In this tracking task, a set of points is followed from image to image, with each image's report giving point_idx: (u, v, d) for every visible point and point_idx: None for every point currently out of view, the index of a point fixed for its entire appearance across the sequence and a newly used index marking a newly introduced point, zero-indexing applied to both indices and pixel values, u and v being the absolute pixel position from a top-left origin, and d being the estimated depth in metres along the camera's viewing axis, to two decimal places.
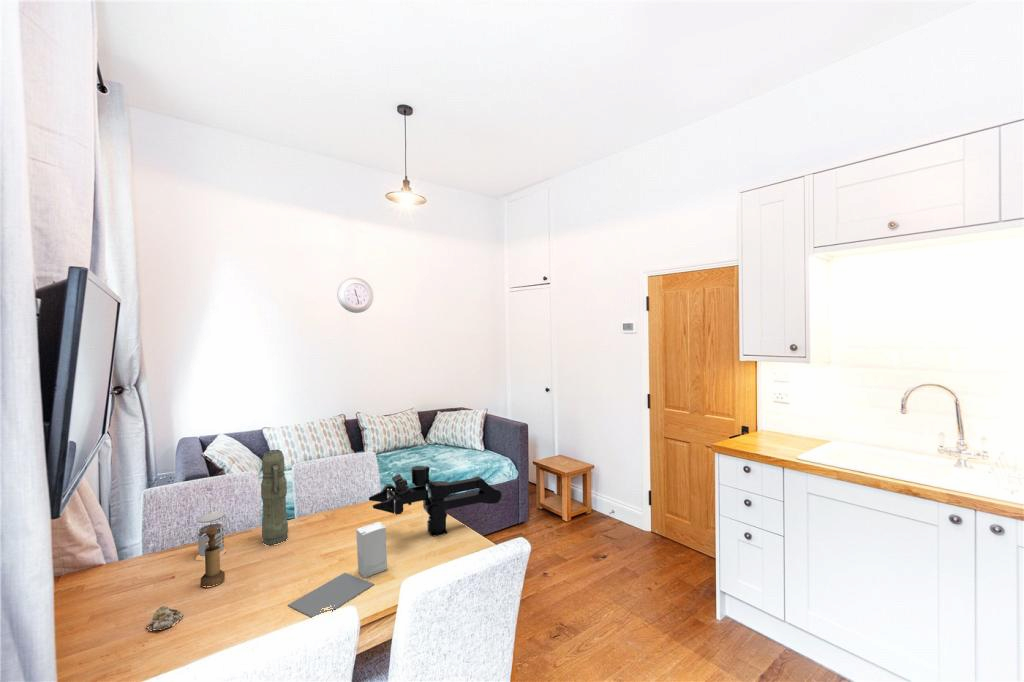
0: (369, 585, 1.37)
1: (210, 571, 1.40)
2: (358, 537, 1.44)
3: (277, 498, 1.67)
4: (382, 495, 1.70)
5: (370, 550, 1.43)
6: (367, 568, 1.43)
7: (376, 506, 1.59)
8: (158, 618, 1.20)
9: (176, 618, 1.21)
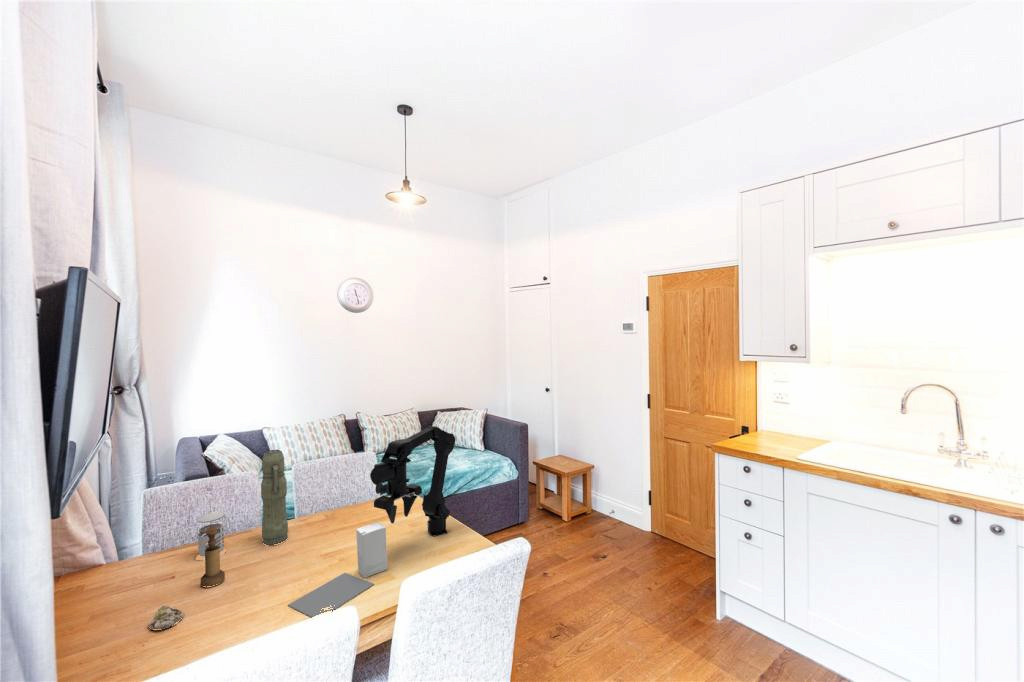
0: (369, 585, 1.37)
1: (210, 571, 1.40)
2: (358, 537, 1.44)
3: (277, 498, 1.67)
4: (406, 502, 1.62)
5: (370, 550, 1.43)
6: (367, 568, 1.43)
7: (391, 520, 1.55)
8: (159, 618, 1.20)
9: (177, 618, 1.21)
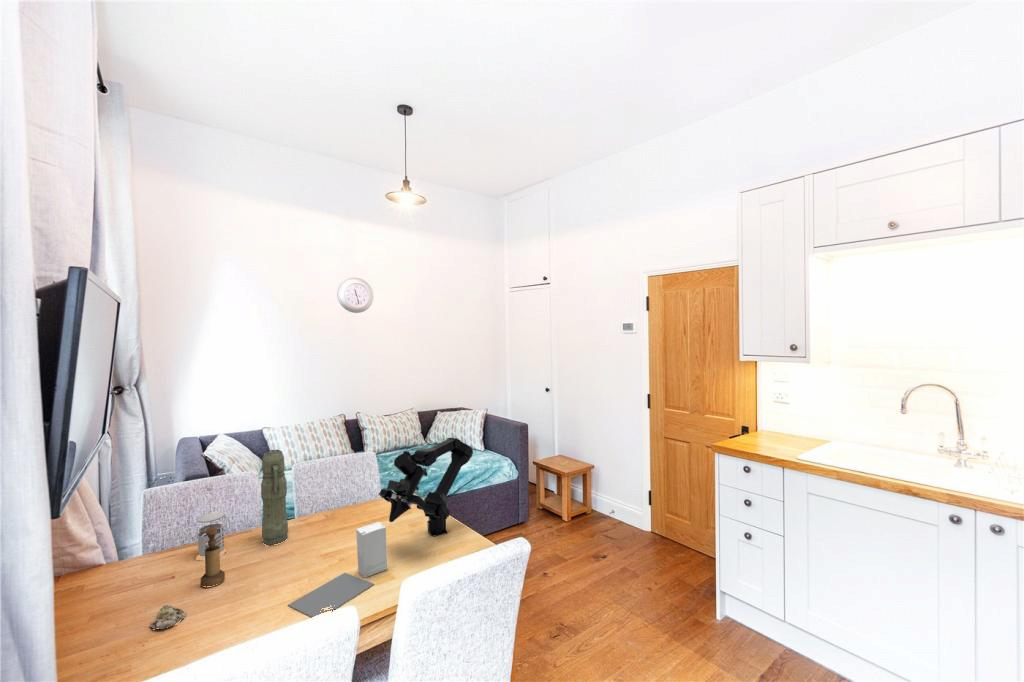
0: (369, 585, 1.37)
1: (210, 571, 1.40)
2: (358, 537, 1.44)
3: (277, 498, 1.67)
4: (395, 507, 1.57)
5: (370, 550, 1.43)
6: (367, 568, 1.43)
7: (393, 518, 1.54)
8: (161, 617, 1.20)
9: (179, 617, 1.22)
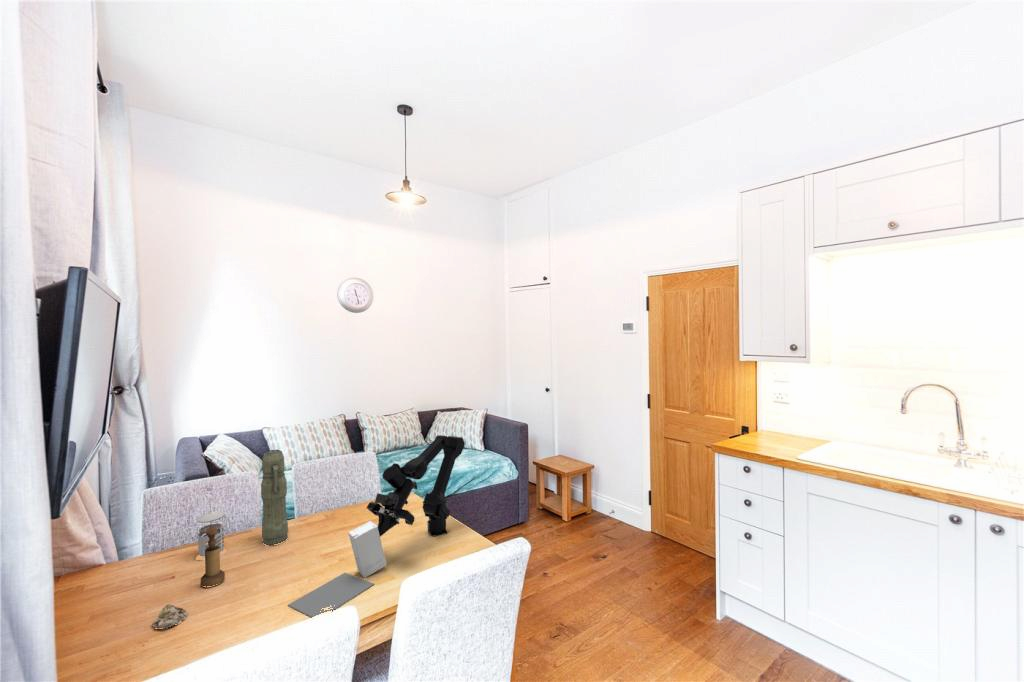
0: (369, 585, 1.37)
1: (210, 571, 1.40)
2: (351, 540, 1.43)
3: (277, 498, 1.67)
4: (383, 522, 1.52)
5: (365, 551, 1.42)
6: (365, 568, 1.42)
7: (380, 533, 1.49)
8: (163, 616, 1.21)
9: (181, 617, 1.22)
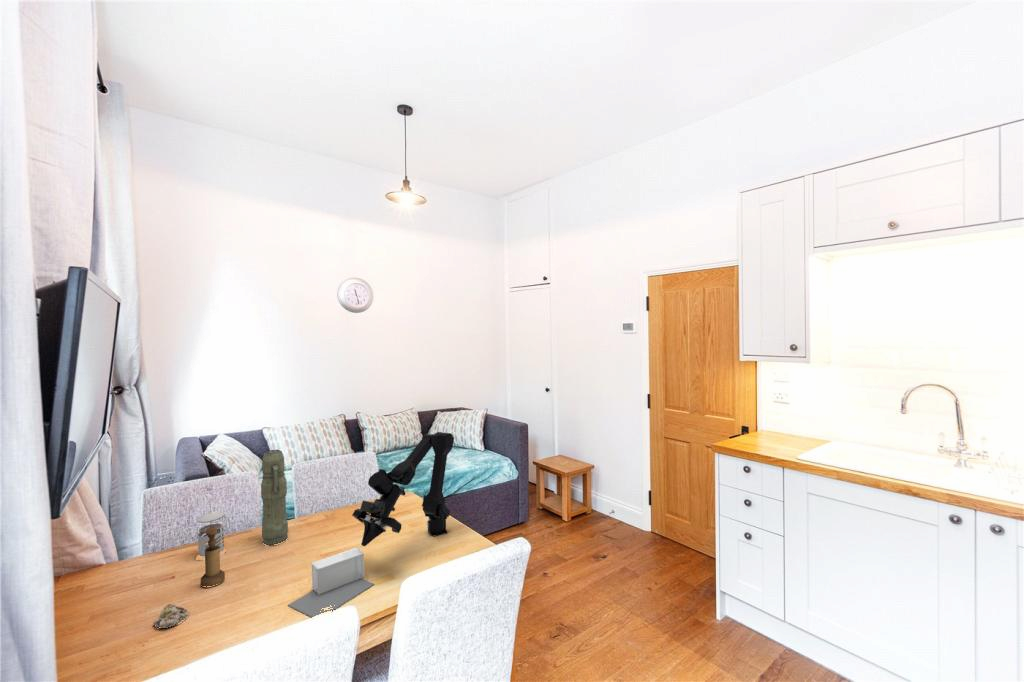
0: (369, 585, 1.37)
1: (210, 571, 1.40)
2: None
3: (277, 498, 1.67)
4: (369, 530, 1.46)
5: (338, 580, 1.36)
6: (355, 577, 1.40)
7: (366, 542, 1.44)
8: (164, 616, 1.21)
9: (182, 616, 1.22)
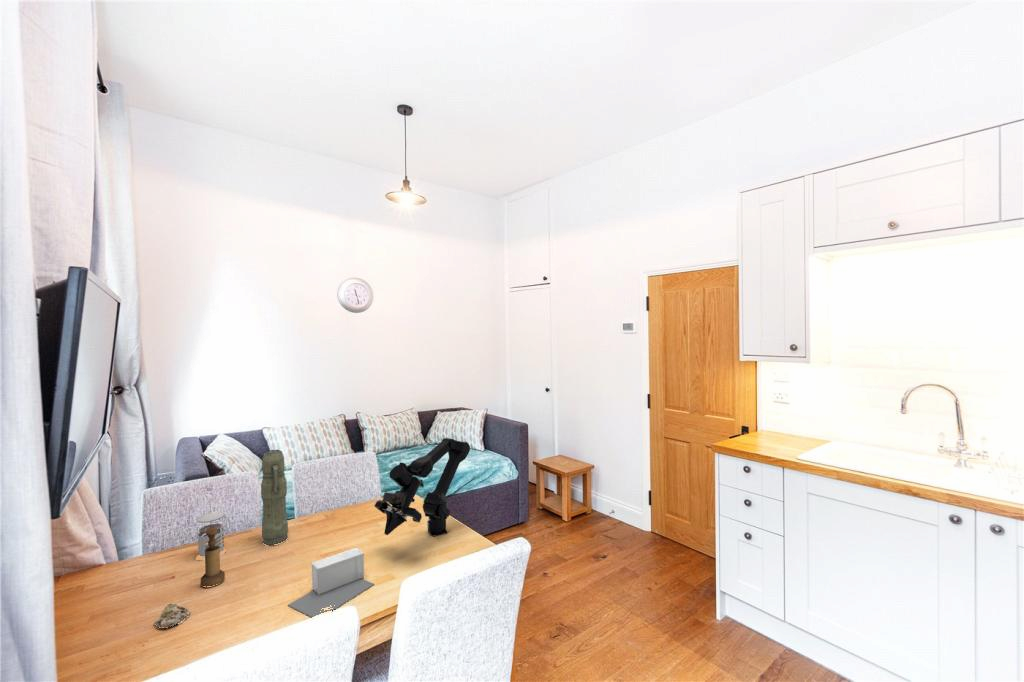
0: (369, 585, 1.37)
1: (210, 571, 1.40)
2: None
3: (277, 498, 1.67)
4: (391, 519, 1.55)
5: (338, 579, 1.36)
6: (355, 577, 1.40)
7: (388, 531, 1.52)
8: (166, 616, 1.21)
9: (183, 616, 1.22)
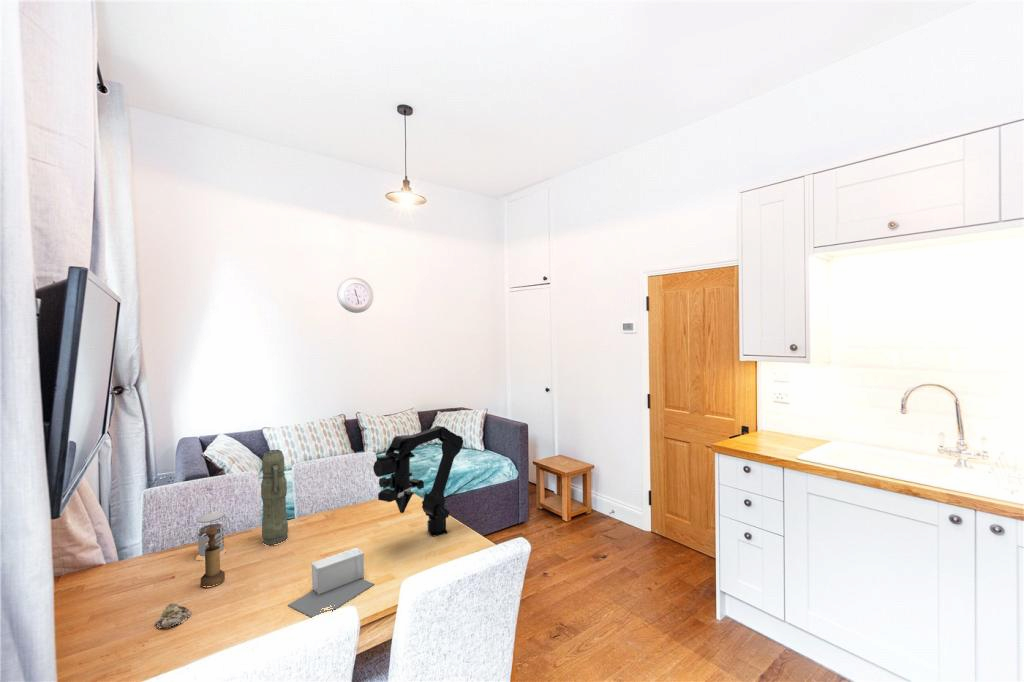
0: (369, 585, 1.37)
1: (210, 571, 1.40)
2: None
3: (277, 498, 1.67)
4: None
5: (338, 579, 1.36)
6: (355, 577, 1.40)
7: (400, 510, 1.62)
8: (167, 615, 1.21)
9: (184, 616, 1.22)
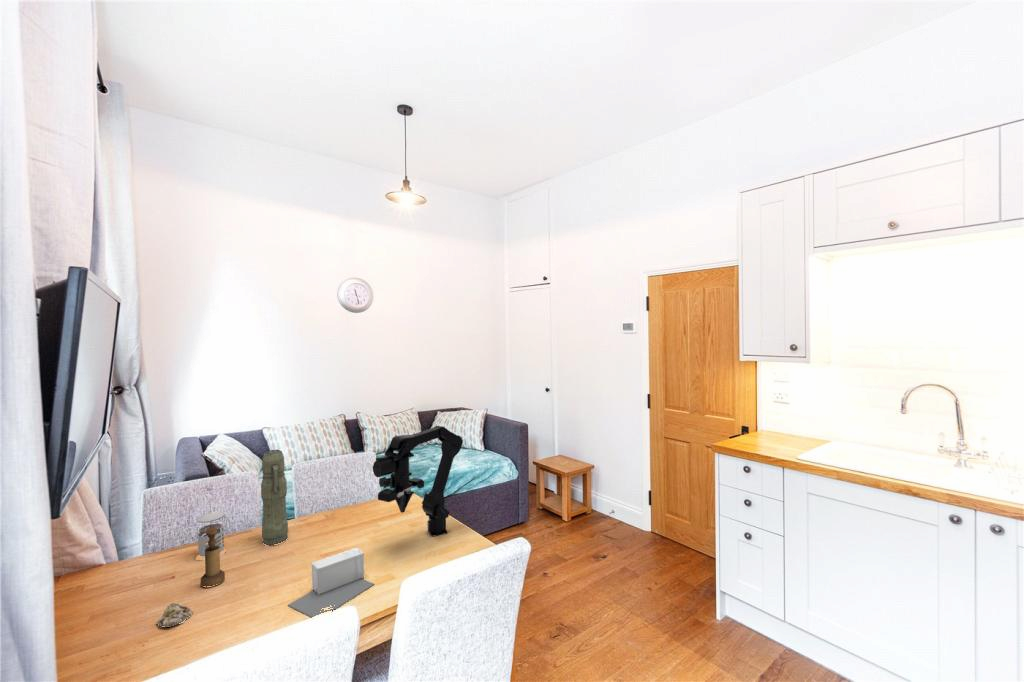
0: (369, 585, 1.37)
1: (210, 571, 1.40)
2: None
3: (277, 498, 1.67)
4: None
5: (338, 579, 1.36)
6: (355, 577, 1.40)
7: (400, 509, 1.62)
8: (168, 615, 1.21)
9: (185, 615, 1.22)
